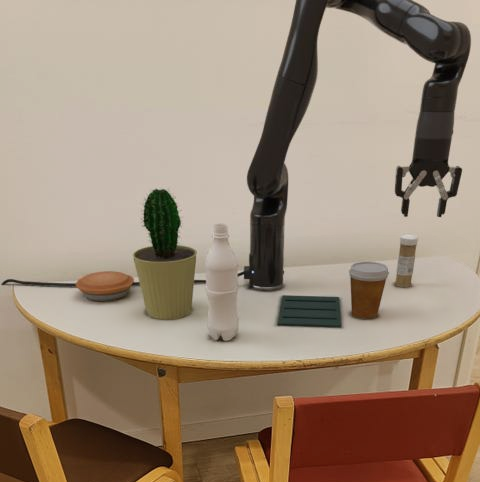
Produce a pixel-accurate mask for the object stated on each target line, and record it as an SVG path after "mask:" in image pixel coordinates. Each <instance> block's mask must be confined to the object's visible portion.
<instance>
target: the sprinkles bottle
mask: <svg viewBox="0 0 480 482" xmlns="http://www.w3.org/2000/svg"><path fill="white" fill-rule="evenodd" d="M418 242H419V237H418V236H417V235H414V234H403V235H401V236H400V238H399V251H398V258H397V265H396V266H397V267H396V275H395V282H394V285H395V286H396V287H400V288H408V287H411V286H412V279H413V273H414V267H415V262H416V261H415V260H416V259H415V258H416V252H417V251H416V250H417V246H418Z"/></svg>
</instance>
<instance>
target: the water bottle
mask: <svg viewBox="0 0 480 482" xmlns="http://www.w3.org/2000/svg"><path fill="white" fill-rule="evenodd" d="M228 226H229V225H228V224H227V223H215V224H213V226H212V227H213V232H212V238H213V240H212V244H211V247H210V249H209V251H208V252H207V256H206V258H205V261H204V267H205V280H206V283H205V292H206V296H207V301H208V311H207V312H208V314H207V318H206V327H207V330H208V334H209V336H210V337H211V338H212V339H213V340H214V341H218V340H219V339H220V337H221V338H222V340H223V342H226V341H227V342H228V341H230V340H232V339H233V338H235V337H236V336H237V334H238V332H239V327H240V319H239V315H238V308H237V299H238V298H237V297H238V291H239V282H238V281H239V279H238V278H239V277H238V273H239V272H238V271H239V270H238V268H239V262H238V259H237V256H236V254H235V252H234V250H233V248H232V246H231V244H230V241H229V238H230V235H229V231H228V230H229V227H228Z"/></svg>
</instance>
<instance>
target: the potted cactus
mask: <svg viewBox="0 0 480 482" xmlns="http://www.w3.org/2000/svg"><path fill="white" fill-rule="evenodd" d="M172 195H173V192H171V190H170V188H167V189H164V188H159V189H158V188H154V189H150V191H149V193H148V194H146V197H147V198H145V197H143V199H144V200H142V201H143V202H141V205H143V209H141V211H143V213H141V216H142V215H143V217H141V219H140V221H142V222H140V224H142V225H141V228H145V230H146V231H147V235H148V238H150V239H149V240H148V241H149V243H150V245H149V246H146V247H141V248H139V249H137V250H135V251H133V253H132V257H133V262H134V266H135V267H134V268H135V270H136V271H135V272H136V275H137V279H138V282H139V283H140V285H139V286H140V291H141V294H142V295H141V296H142V298H143V303H144V306H145V311H146V314H147V316H149V317H151V318H154V319H156V320H157V319H158V320H176V319H180V318H184V317H187V316H188V315H189V314H191V312H192V309H193V308H192V307H193V297H194V285H195V283H194V280H195V274H196V265H197V264H196V263H197V254H198V251H197V249H195V248H193V247H192V246H187V245H183V244H181V243H180V242H179V241H178V240H179V239H180V238H181V236H180V235H179V231H180V227H181V228H183V223H182V219H183V217H181V216H180V213H179V212H181V211H182V209H180V210H179V209H178V207H179V205H178V203H177V202H176V201H175V197H174V196H172ZM148 241H147V242H148Z"/></svg>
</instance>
